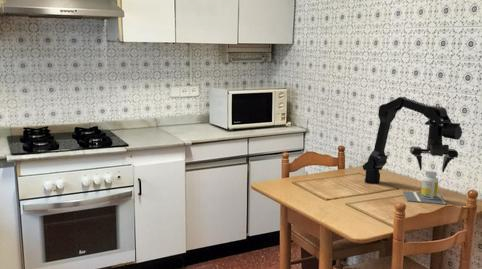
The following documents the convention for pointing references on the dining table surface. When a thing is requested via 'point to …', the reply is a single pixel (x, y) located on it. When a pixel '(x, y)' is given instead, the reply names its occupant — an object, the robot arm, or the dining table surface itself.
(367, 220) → the dining table surface
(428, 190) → the pill bottle
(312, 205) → the dining table surface
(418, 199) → the mat
